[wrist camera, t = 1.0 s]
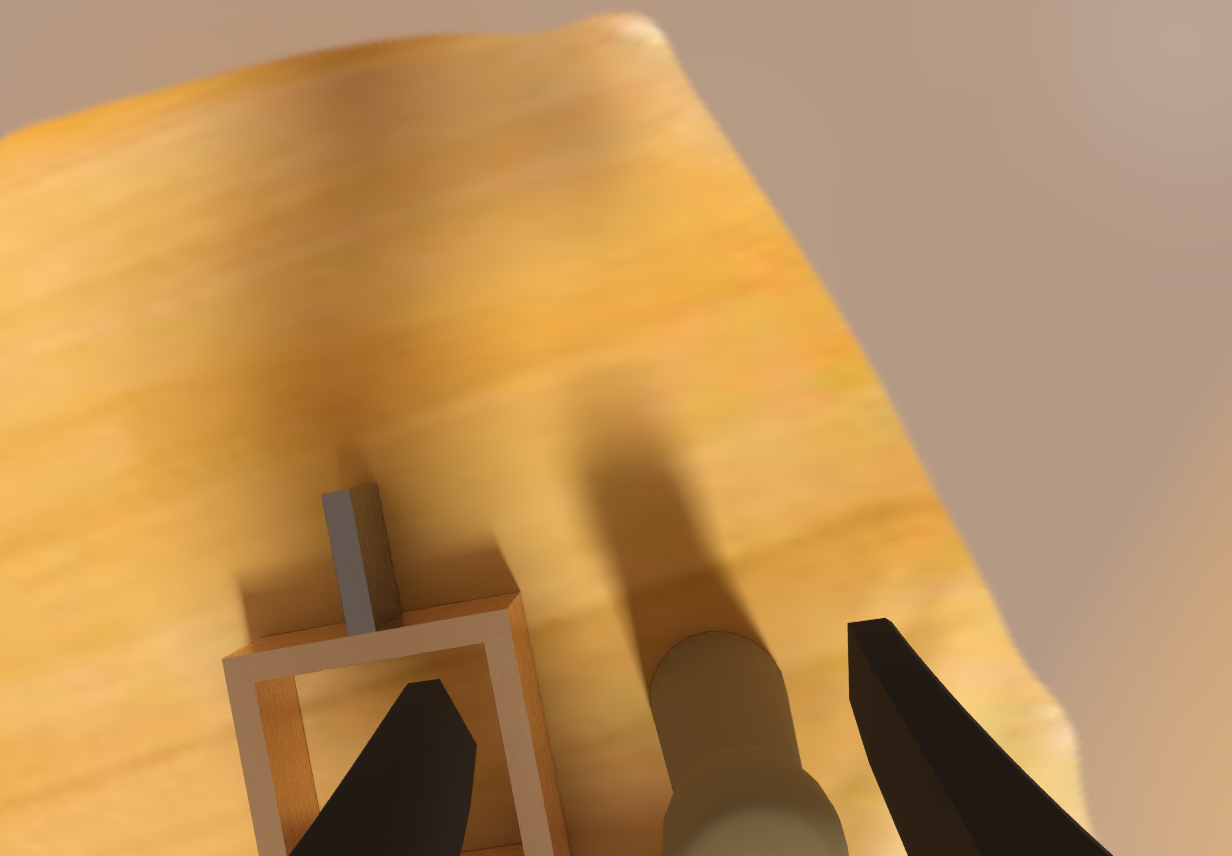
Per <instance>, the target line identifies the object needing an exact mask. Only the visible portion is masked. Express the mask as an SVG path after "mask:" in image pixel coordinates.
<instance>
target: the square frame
mask: <svg viewBox="0 0 1232 856" xmlns="http://www.w3.org/2000/svg"><path fill="white" fill-rule="evenodd" d="M322 500H323V506H324V511H325V516H326V521H327V527H328V532H329V537H330V542H331V548H332V553H333V558H334V564H335V569H336V574H337V579H338V585H339V590H340V595H341V600H342V606H343V611H344V616H345V622H346V623H341V624H335V625H330V626H324V627H318V628H313V629H307V630H301V631H296V632H290V633H285V634H279V635H273V636H268V637H262V638H259V639H257V640H256V641H254V642H252V643H250V644H248V645H246V646H245V647H243V648H241V649H239V650H237V651H235V652H234V653H232V654H230V655H228V656H226V657H224V658H223V659H222V662H223V667H224V673H225V678H226V683H227V688H228V694H229V699H230V704H231V710H232V715H233V720H234V726H235V731H236V736H237V741H238V747H239V752H240V757H241V763H242V768H243V773H244V779H245V784H246V789H247V795H248V800H249V805H250V810H251V816H252V821H253V826H254V832H255V837H256V842H257V848H258V853H259V856H289V854H290V853H291V852H292V850H293V849H294V848H295V846H296V845H297V843H298V842H299V841H300V839H301V838H302V837H303V835H304V834H305V833H306V831H307V830H308V829H309V827H310V826H311V825H312V823H313V822H314V820H315V819H316V818H317V816H318V815H319V809H318V804H317V798H316V793H315V788H314V783H313V777H312V772H311V767H310V761H309V756H308V751H307V746H306V740H305V735H304V730H303V724H302V719H301V714H300V709H299V703H298V698H297V693H296V687H295V682H294V677H293V675H299V674H305V673H311V672H316V671H322V670H328V669H334V668H340V667H346V666H351V665H357V664H363V663H369V662H375V661H380V660H386V659H392V658H398V657H404V656H409V655H415V654H421V653H427V652H433V651H438V650H444V649H450V648H456V647H462V646H467V645H473V644H479V643H484V645H485V651H486V656H487V661H488V666H489V672H490V677H491V682H492V687H493V693H494V698H495V703H496V708H497V714H498V719H499V724H500V729H501V735H502V740H503V745H504V750H505V755H506V761H507V766H508V771H509V776H510V782H511V787H512V792H513V797H514V803H515V808H516V813H517V818H518V824H519V829H520V834H521V839H522V844H517V845H510V846H503V847H497V848H490V849H483V850H477V851H470V852H463V853H460V856H571V853H570V848H569V843H568V838H567V833H566V827H565V822H564V817H563V812H562V806H561V801H560V796H559V791H558V786H557V780H556V775H555V770H554V765H553V759H552V754H551V749H550V744H549V738H548V733H547V728H546V723H545V718H544V712H543V707H542V702H541V697H540V691H539V686H538V681H537V676H536V671H535V665H534V660H533V655H532V650H531V644H530V639H529V634H528V629H527V623H526V618H525V613H524V608H523V603H522V597H521V592H516V593H510V594H505V595H499V596H494V597H488V598H482V599H477V600H471V601H465V602H460V603H454V604H448V605H443V606H437V607H431V608H426V609H420V610H414V611H409V612H403V613H401V608H400V603H399V598H398V593H397V587H396V582H395V577H394V572H393V566H392V561H391V556H390V551H389V545H388V540H387V535H386V530H385V524H384V519H383V514H382V509H381V503H380V498H379V493H378V488H377V484H372V485H367V486H361V487H356V488H351V489H346V490H342V491H337V492H332V493H328V494H323V495H322Z"/></svg>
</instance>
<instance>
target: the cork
mask: <svg viewBox="0 0 1232 856" xmlns="http://www.w3.org/2000/svg"><path fill="white" fill-rule="evenodd" d="M650 707H651V710H652V714H653V718H654V722H655V725H656V729H657V733H658V737H659V740H660V744H661V748H662V751H663V755H664V759H665V763H666V766H667V770H668V774H669V778H670V781H671V785H672V789H673V796H672V799H671V801H670V804H669V806H668V809H667V812H666V814H665V817H664V829H663V856H849V854H848V847H847V843H846V839H845V836H844V832H843V829H842V825H841V822H840V819H839V817H838V815H837V812H836V810H835V808H834V806H833V805H832V803H831V802H830V800H829V799H828V797H827V796H826V794H825V793H824V791H823V790H822V788H821V787H820V785H819V784H818V782H817V781H816V780H815V779H814V778H813V777H812V776H810V775H809V774H808V773H807V772H806V771H805V770H803V769H802V764H801V759H800V754H799V749H798V744H797V739H796V735H795V730H794V725H793V720H792V715H791V710H790V705H789V700H788V695H787V691H786V687H785V684H784V680H783V676H782V673H781V671H780V670H779V668H778V667H777V665H776V664H775V662H774V661H773V659H772V658H771V656H770V655H769V654H768V653H767V652H766V651H765V650H763V649H762V648H761V647H760V646H758V645H757V644H756V643H755V642H753V641H752V640H749V639H747V638H744V637H742V636H739V635H737V634H734V633H729V632H713V631H710V632H706V633H702V634H698V635H694V636H690V637H688V638H687V639H685V640H683V641H682V642H680V643H679V644H677V645H676V646H674V647H672V648H671V649H670V651H669V652H668V653H667V654H666V656H665V657H664V658H663V659H662V661H661V662H660V663H659V664H658V667H657V669H656V672H655V675H654V677H653V680H652V683H651V696H650Z"/></svg>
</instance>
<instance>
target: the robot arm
mask: <svg viewBox="0 0 1232 856" xmlns="http://www.w3.org/2000/svg"><path fill="white" fill-rule="evenodd" d="M848 665H849V700H850V703H851V706H852V709H853V713H854V716H855V719H856V722H857V726H858V729H859V732H860V735H861V739H862V742H863V745H864V748H865V751H866V754H867V757H868V761H869V764H870V766H871V768H872V771H873V773H874V776H875V778H876V781H877V783H878V785H879V788H880V790H881V793H882V795H883V797H884V800H885V802H886V805H887V807H888V809H889V812H890V814H891V816H892V819H893V821H894V824H895V826H896V828H897V831H898V833H899V835H900V838H901V840H902V843H903V845H904V847H905V850H906V852H907V854H908V856H1113V855H1112V854H1111V853H1110V852H1109V851H1107V850H1106V849H1105V848H1104V847H1103V846H1102V845H1101V844H1100V843H1099V842H1098V841H1096V840H1095V839H1094V838H1093V837H1092V836H1091V835H1090V834H1089V833H1088V832H1087V831H1086V830H1085V829H1083V828H1082V827H1081V826H1080V825H1079V824H1078V823H1077V822H1076V821H1075V820H1074V819H1073V818H1072V817H1071V816H1070V815H1069V814H1068V813H1066V812H1065V811H1064V810H1063V809H1062V808H1061V807H1060V806H1059V805H1058V804H1057V803H1056V802H1055V801H1054V800H1053V799H1052V798H1051V797H1050V796H1049V795H1048V794H1047V793H1046V792H1045V791H1044V790H1043V789H1042V788H1041V787H1040V786H1039V785H1038V784H1037V783H1036V782H1035V781H1034V780H1033V779H1032V778H1030V777H1029V776H1028V775H1027V774H1026V773H1025V772H1024V771H1023V770H1022V768H1021V767H1020V766H1019V765H1018V764H1017V763H1016V762H1015V761H1014V760H1013V759H1012V758H1011V757H1010V756H1009V755H1008V754H1007V753H1006V752H1005V751H1004V750H1003V749H1002V748H1001V747H1000V746H999V745H998V744H997V743H996V742H995V741H994V740H993V738H992V737H991V736H990V735H989V734H988V733H987V732H986V731H985V730H984V729H983V728H982V727H981V726H980V725H979V724H978V723H977V722H976V720H975V719H974V718H973V717H972V716H971V715H970V714H969V713H968V712H967V711H966V710H965V709H964V708H963V706H962V705H961V704H960V703H959V702H958V701H957V700H956V699H955V698H954V696H953V695H952V694H951V693H950V692H949V691H948V690H947V688H946V687H945V686H944V685H943V684H942V683H941V682H940V680H939V679H938V678H937V677H936V676H935V675H934V674H933V672H932V671H931V670H930V669H929V668H928V667H927V665H926V664H925V663H924V662H923V661H922V659H921V658H920V657H919V656H918V655H917V653H916V652H915V651H914V650H913V648H912V647H911V646H910V645H909V643H908V642H907V641H906V640H905V638H904V637H903V636H902V635H901V633H900V632H899V631H898V629H897V628H896V627H895V626H894V624H893V623H892V622H891V621H889V620H888V619H886V618H881V619H874V620H866V621H859V622H852V623H848ZM476 747H477V744H476V743H475V741H474V739H473V737H472V735H471V734H470V732H469V730H468V728H467V727H466V725H465V723H464V721H463V720H462V718H461V716H460V714H459V712H458V711H457V709H456V707H455V705H454V704H453V702H452V700H451V698H450V697H449V695H448V693H447V691H446V690H445V688H444V686H443V684H442V682H441V681H440V679H436V680H429V681H421V682H414V683H408V684H407V685H406V687H405V688H404V690H403V691H402V693H401V694H400V696H399V697H398V698H397V700H396V701H395V703H394V704H393V706H392V707H391V709H390V710H389V712H388V713H387V715H386V716H385V718H384V719H383V721H382V722H381V724H380V725H379V727H378V728H377V730H376V731H375V733H374V734H373V736H372V737H371V739H370V740H369V742H368V743H367V745H366V746H365V748H364V749H363V751H362V752H361V754H360V755H359V757H358V758H357V760H356V761H355V763H354V764H353V766H352V767H351V769H350V770H349V771H348V773H347V774H346V776H345V777H344V779H343V780H342V782H341V783H340V784H339V786H338V787H337V789H336V790H335V792H334V793H333V795H332V796H331V797H330V799H329V800H328V802H327V803H326V805H325V806H324V808H323V809H322V810H321V812H320V813H319V815H318V816H317V818H316V819H315V820H314V822H313V823H312V825H311V826H310V827H309V829H308V830H307V831H306V833H305V834H304V835H303V837H302V838H301V839H300V841H299V842H298V843H297V845H296V846H295V848H294V849H293V850H292V852H291V853H290V854H289V856H460V853H461V849H462V844H463V839H464V835H465V830H466V825H467V820H468V816H469V811H470V805H471V796H472V788H473V779H474V769H475V758H476Z"/></svg>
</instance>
